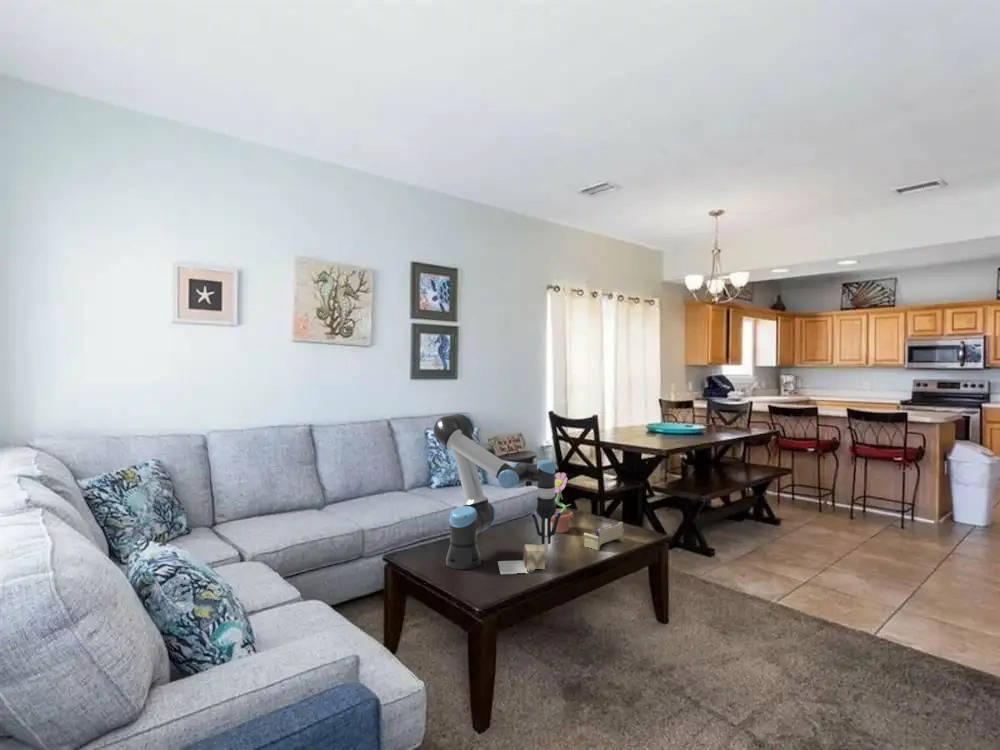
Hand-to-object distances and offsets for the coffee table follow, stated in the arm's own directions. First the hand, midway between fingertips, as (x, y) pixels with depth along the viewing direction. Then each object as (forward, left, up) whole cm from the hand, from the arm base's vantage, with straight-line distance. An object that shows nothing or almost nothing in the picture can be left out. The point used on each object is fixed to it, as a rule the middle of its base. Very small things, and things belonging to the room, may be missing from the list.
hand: (545, 551), depth 239 cm
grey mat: (-13, 0, -7) cm, 15 cm away
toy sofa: (+32, +26, -7) cm, 42 cm away
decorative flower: (+15, +48, -7) cm, 51 cm away
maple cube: (-1, 0, -2) cm, 3 cm away
